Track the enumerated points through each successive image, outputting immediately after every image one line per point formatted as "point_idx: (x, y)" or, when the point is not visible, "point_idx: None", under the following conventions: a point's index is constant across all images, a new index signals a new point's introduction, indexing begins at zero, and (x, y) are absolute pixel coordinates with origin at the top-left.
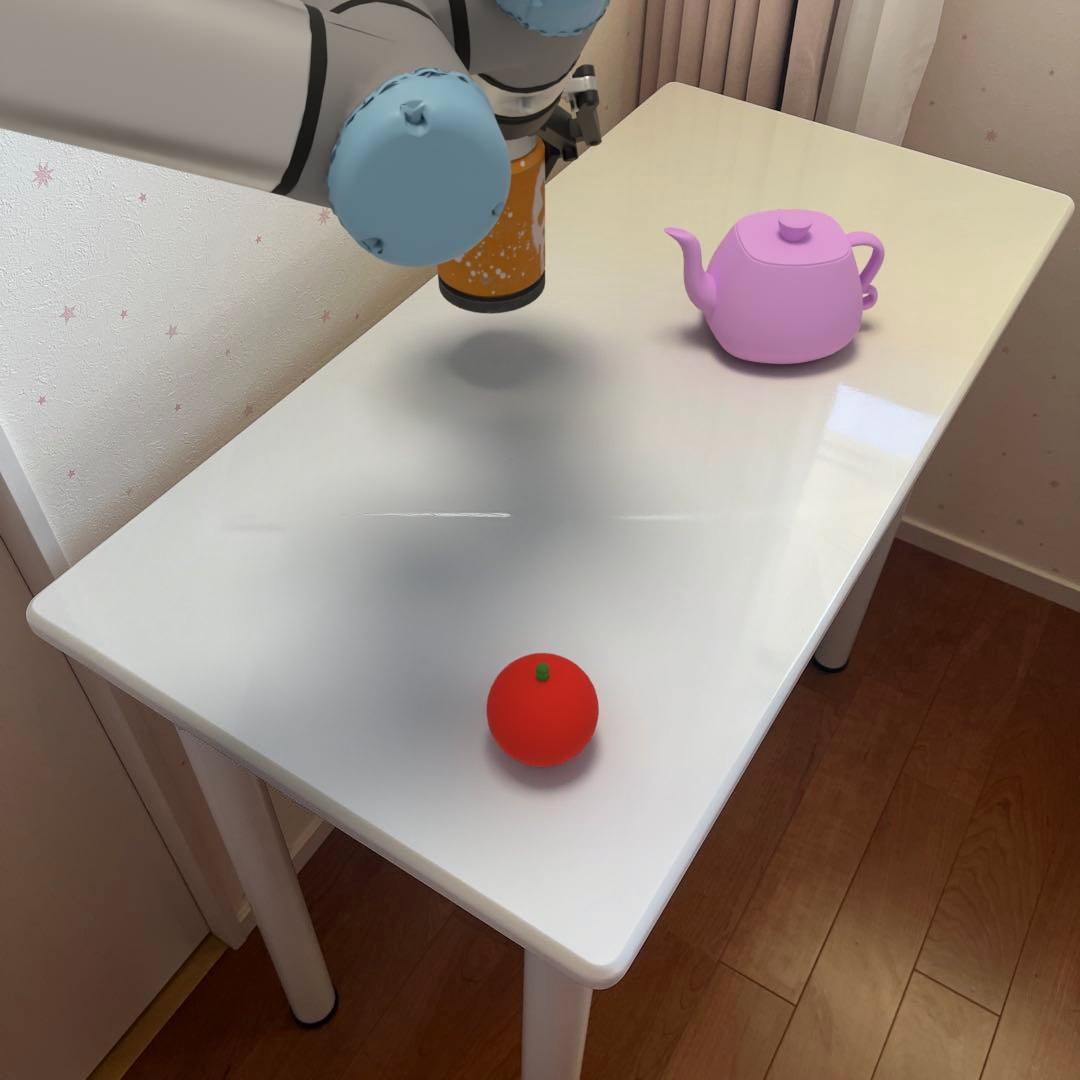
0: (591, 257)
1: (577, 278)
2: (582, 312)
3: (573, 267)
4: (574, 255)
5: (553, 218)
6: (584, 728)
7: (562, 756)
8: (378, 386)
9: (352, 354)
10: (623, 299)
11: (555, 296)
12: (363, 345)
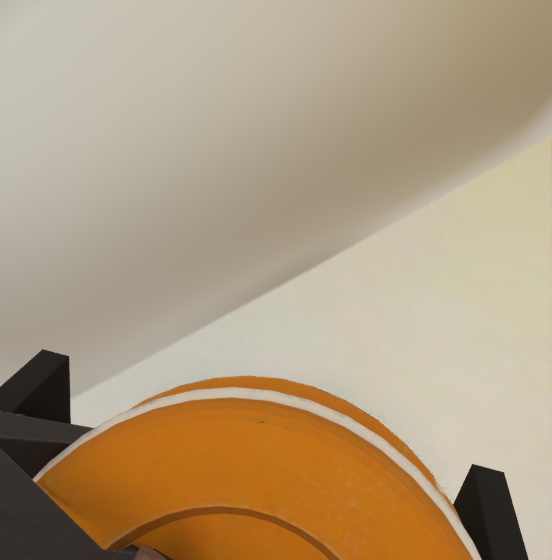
0: (530, 337)
1: (486, 379)
2: (456, 471)
3: (491, 348)
4: (506, 319)
5: (512, 215)
6: None
7: None
8: None
9: (88, 395)
10: (537, 472)
11: (432, 407)
12: (112, 382)
